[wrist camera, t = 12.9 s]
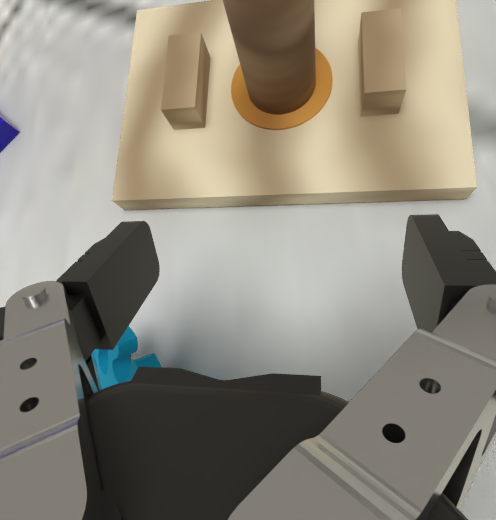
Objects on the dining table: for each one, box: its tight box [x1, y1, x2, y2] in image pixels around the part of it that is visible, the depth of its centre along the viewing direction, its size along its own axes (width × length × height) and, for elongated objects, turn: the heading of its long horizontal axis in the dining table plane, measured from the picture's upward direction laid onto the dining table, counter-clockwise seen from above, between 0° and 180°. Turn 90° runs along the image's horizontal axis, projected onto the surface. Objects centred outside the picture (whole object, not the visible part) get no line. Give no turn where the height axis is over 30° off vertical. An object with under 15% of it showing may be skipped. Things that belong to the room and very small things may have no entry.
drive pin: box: [223, 0, 316, 115], centre depth 18 cm, size 4×4×10 cm
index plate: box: [112, 0, 477, 210], centre depth 22 cm, size 20×14×4 cm
